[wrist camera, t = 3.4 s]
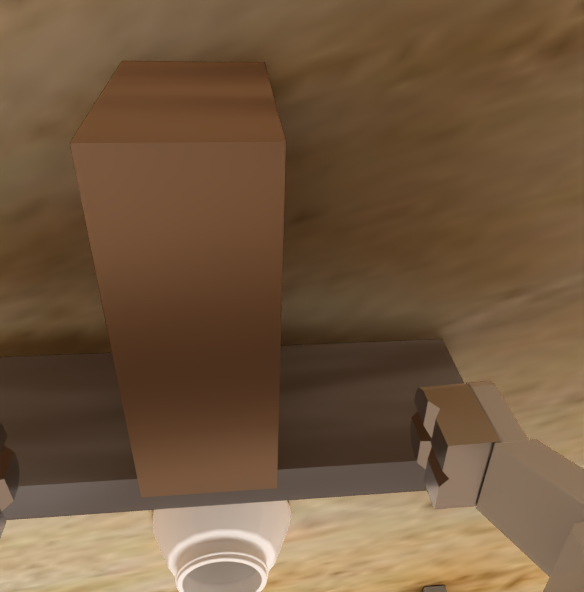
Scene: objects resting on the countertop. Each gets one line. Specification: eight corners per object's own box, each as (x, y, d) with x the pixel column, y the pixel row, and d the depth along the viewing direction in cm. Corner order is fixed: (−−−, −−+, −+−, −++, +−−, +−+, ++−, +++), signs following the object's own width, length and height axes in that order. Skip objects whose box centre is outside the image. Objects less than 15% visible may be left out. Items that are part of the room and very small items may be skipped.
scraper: (-158, 57, 11) (-375, 145, 7) (506, 63, 13) (642, 140, 9) (-24, 388, 16) (-105, 547, 12) (434, 366, 18) (497, 502, 14)
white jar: (229, 444, 19) (126, 506, 21) (230, 521, 17) (113, 586, 18) (313, 505, 22) (216, 557, 23) (324, 580, 19) (216, 633, 21)
